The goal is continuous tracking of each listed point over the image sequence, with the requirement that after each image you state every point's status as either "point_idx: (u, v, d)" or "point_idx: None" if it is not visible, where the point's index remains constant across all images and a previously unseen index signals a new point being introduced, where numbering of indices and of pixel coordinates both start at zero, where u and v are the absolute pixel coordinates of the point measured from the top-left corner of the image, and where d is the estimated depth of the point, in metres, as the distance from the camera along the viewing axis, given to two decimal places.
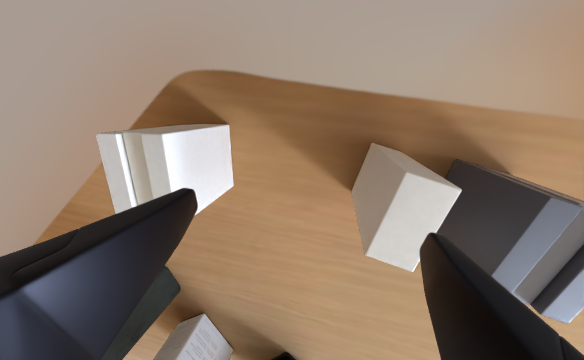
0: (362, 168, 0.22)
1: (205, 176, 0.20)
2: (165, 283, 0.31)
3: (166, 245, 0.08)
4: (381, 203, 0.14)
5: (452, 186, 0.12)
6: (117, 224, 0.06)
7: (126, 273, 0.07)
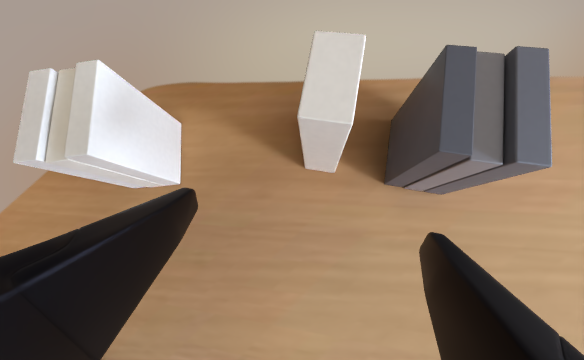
0: None
1: (142, 139, 0.19)
2: None
3: (166, 245, 0.08)
4: None
5: (357, 35, 0.13)
6: (117, 224, 0.06)
7: (126, 273, 0.07)
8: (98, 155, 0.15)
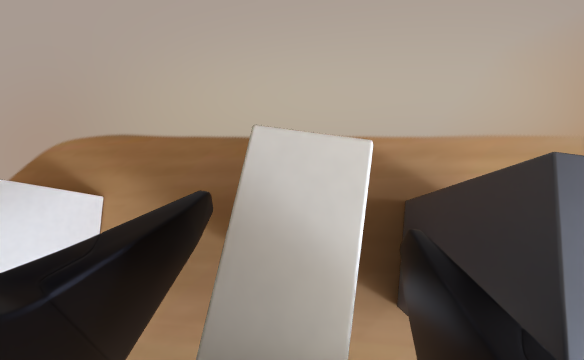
0: None
1: None
2: None
3: (184, 249, 0.08)
4: None
5: (352, 139, 0.05)
6: (138, 229, 0.06)
7: (147, 278, 0.06)
8: None
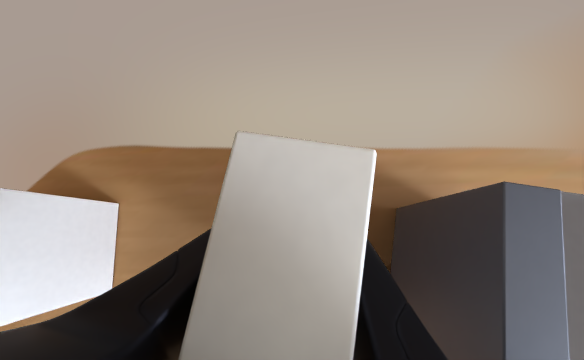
0: None
1: (29, 265, 0.13)
2: None
3: None
4: None
5: (352, 148, 0.05)
6: None
7: None
8: None
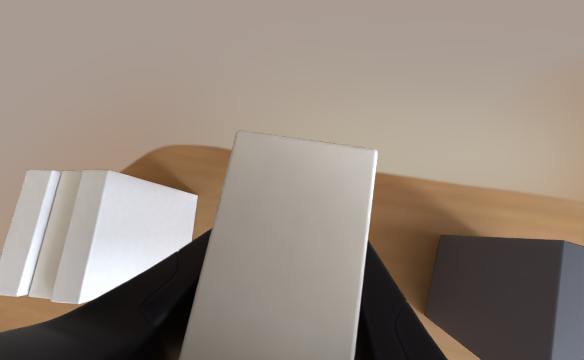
0: None
1: (150, 242, 0.16)
2: None
3: None
4: None
5: (353, 147, 0.05)
6: None
7: None
8: (93, 296, 0.12)
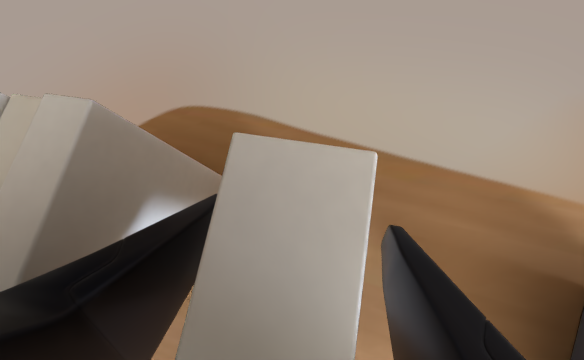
0: None
1: None
2: None
3: None
4: None
5: (352, 150, 0.04)
6: (161, 233, 0.06)
7: (168, 283, 0.06)
8: None
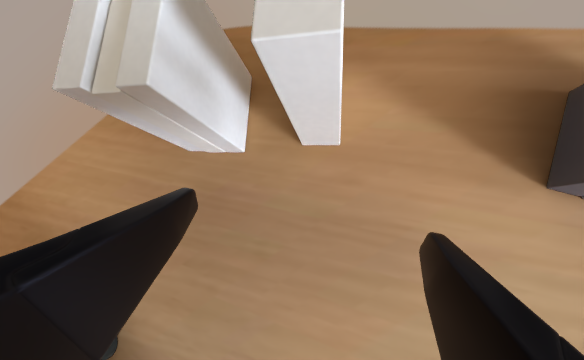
0: None
1: (212, 83, 0.14)
2: None
3: (166, 245, 0.08)
4: None
5: None
6: (117, 224, 0.06)
7: (126, 273, 0.07)
8: (160, 89, 0.10)
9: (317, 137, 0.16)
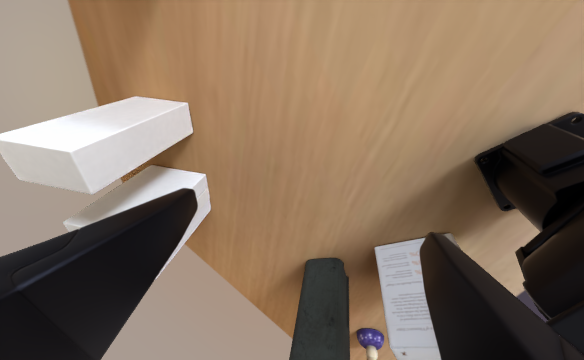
0: None
1: (147, 199, 0.21)
2: (317, 268, 0.28)
3: (166, 245, 0.08)
4: None
5: None
6: (117, 224, 0.06)
7: (126, 273, 0.07)
8: None
9: (180, 125, 0.21)
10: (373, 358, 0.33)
